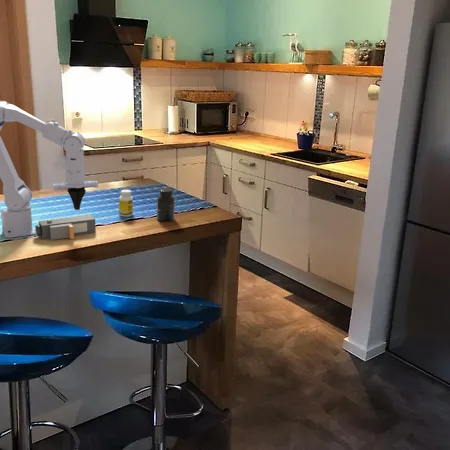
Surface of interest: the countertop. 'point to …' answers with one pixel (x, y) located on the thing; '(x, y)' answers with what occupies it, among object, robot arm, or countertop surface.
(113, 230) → the countertop surface
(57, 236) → the side door
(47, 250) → the countertop surface
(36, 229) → the gray sliding door box
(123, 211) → the supplement bottle
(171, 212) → the supplement bottle
